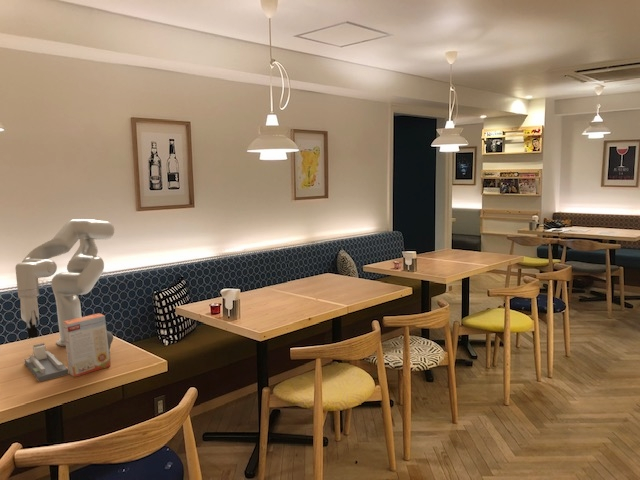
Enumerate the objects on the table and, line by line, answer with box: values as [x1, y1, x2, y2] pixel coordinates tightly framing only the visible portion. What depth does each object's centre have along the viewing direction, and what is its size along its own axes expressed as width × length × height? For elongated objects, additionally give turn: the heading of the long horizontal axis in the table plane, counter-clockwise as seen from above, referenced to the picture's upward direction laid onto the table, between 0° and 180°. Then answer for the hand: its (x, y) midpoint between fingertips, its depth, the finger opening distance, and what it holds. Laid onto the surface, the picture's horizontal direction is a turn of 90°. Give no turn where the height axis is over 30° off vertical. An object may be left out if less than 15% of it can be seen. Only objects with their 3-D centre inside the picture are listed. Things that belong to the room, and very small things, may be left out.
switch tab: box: [32, 342, 47, 360], centre depth 211 cm, size 4×4×6 cm
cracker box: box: [63, 313, 111, 378], centre depth 202 cm, size 14×6×21 cm, turn 133°
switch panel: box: [24, 350, 69, 383], centre depth 206 cm, size 10×24×4 cm, turn 40°
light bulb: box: [107, 330, 114, 354], centre depth 219 cm, size 6×6×10 cm
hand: (32, 336), depth 215 cm, fingers closed
